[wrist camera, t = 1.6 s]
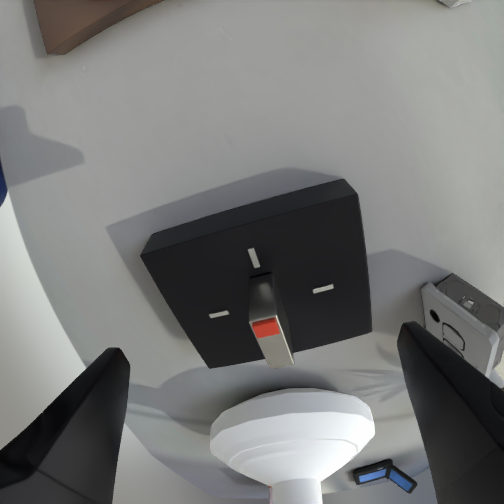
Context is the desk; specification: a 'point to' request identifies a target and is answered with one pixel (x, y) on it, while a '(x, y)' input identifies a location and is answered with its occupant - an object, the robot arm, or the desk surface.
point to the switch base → (267, 271)
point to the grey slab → (270, 321)
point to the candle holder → (292, 439)
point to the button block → (81, 19)
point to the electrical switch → (465, 321)
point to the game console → (384, 475)
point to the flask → (454, 2)
